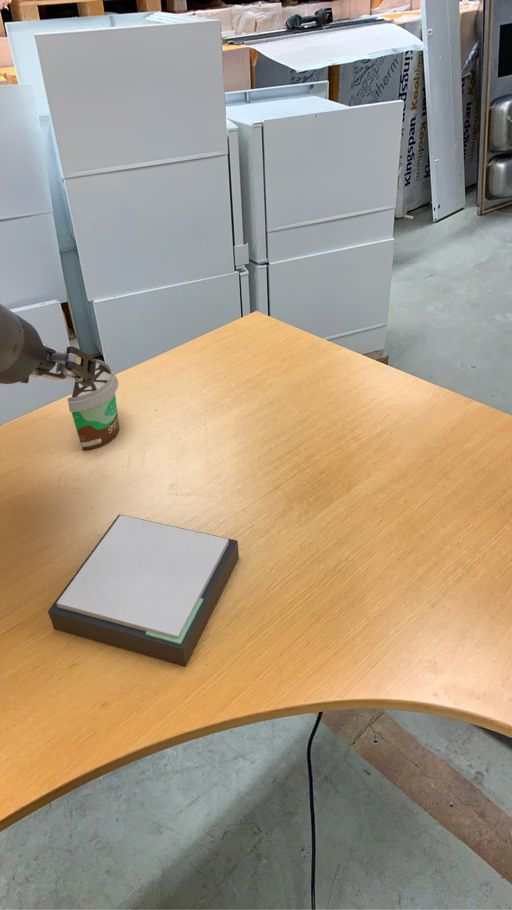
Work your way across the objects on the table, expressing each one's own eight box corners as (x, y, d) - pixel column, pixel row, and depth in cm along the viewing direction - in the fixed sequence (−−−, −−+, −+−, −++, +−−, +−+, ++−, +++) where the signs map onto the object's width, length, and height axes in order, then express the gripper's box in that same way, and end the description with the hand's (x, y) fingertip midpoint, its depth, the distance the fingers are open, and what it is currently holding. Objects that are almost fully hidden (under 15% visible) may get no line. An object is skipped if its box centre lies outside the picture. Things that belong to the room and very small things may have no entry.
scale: (53, 628, 72) (45, 606, 70) (122, 530, 84) (117, 509, 82) (185, 666, 68) (181, 644, 65) (239, 557, 80) (237, 535, 77)
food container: (123, 453, 97) (111, 397, 91) (81, 456, 97) (66, 400, 91) (130, 407, 107) (119, 353, 101) (92, 410, 106) (79, 356, 100)
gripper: (57, 306, 67) (113, 351, 83) (-69, 302, 69) (9, 346, 85) (48, 377, 66) (107, 408, 82) (-79, 371, 69) (2, 402, 85)
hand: (57, 377), depth 84 cm, fingers open, 8 cm apart
